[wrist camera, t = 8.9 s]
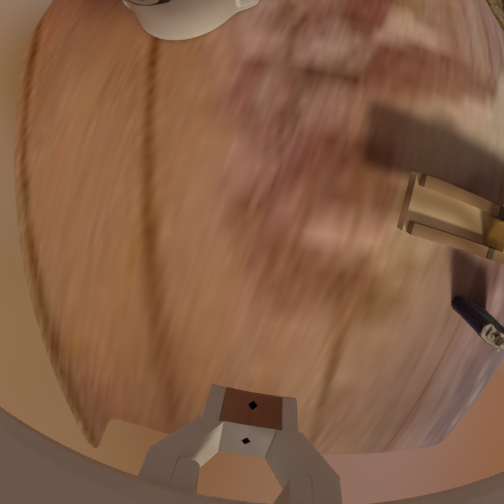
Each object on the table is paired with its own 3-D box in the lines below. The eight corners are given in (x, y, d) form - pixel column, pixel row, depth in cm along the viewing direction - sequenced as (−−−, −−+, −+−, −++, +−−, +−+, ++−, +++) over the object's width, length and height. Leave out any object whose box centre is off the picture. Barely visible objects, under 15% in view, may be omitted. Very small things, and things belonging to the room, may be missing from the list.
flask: (488, 310, 38) (522, 344, 27) (478, 324, 39) (510, 361, 28) (456, 291, 37) (493, 327, 27) (446, 307, 38) (480, 346, 28)
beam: (389, 167, 33) (431, 174, 23) (514, 217, 33) (560, 237, 22) (378, 214, 35) (414, 238, 24) (503, 254, 34) (546, 281, 24)
